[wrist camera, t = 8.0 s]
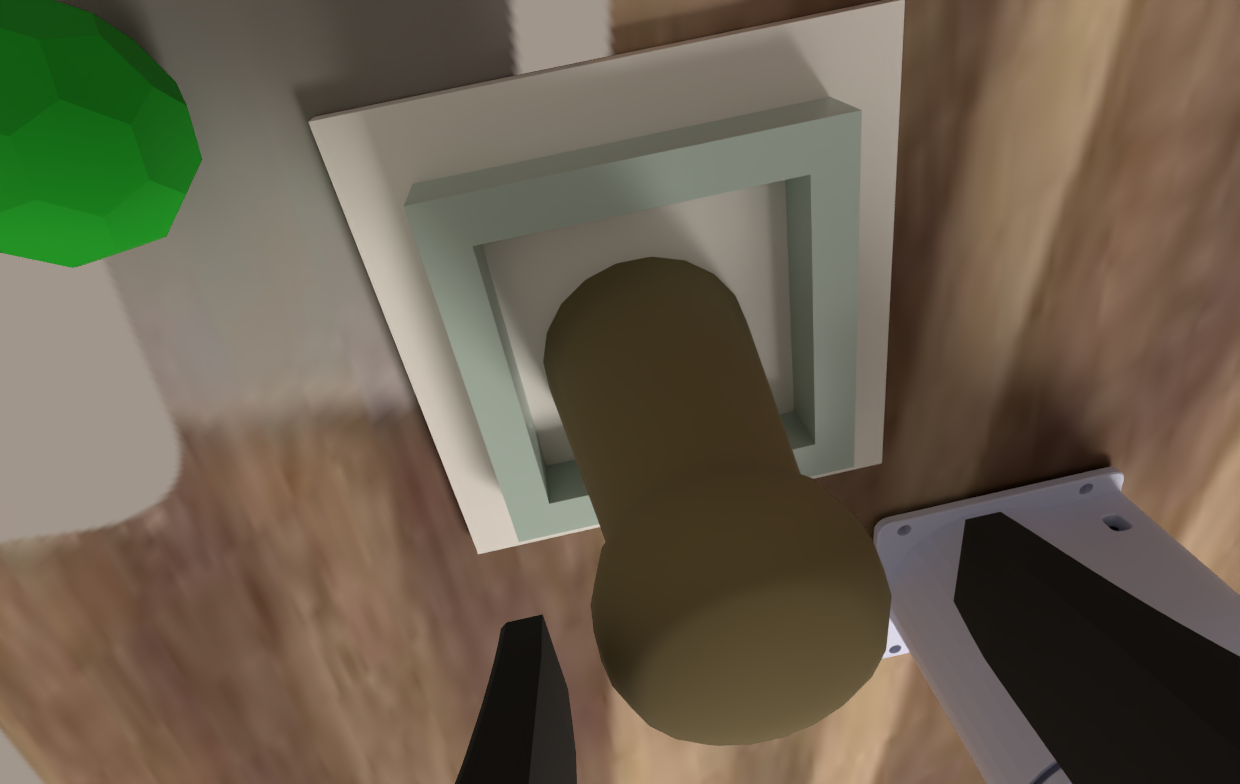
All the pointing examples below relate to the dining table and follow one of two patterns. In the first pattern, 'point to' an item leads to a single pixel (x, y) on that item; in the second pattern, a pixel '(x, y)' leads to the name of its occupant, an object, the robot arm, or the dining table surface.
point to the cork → (707, 516)
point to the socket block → (633, 236)
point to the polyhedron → (85, 137)
